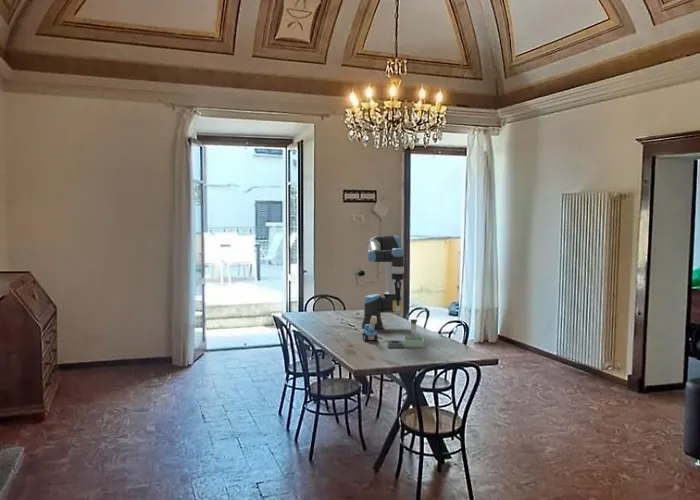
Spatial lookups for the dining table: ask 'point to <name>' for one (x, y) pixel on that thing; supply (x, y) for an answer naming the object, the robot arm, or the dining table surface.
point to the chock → (395, 305)
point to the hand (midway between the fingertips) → (397, 309)
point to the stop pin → (413, 329)
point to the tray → (414, 342)
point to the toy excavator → (370, 330)
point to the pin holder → (395, 344)
